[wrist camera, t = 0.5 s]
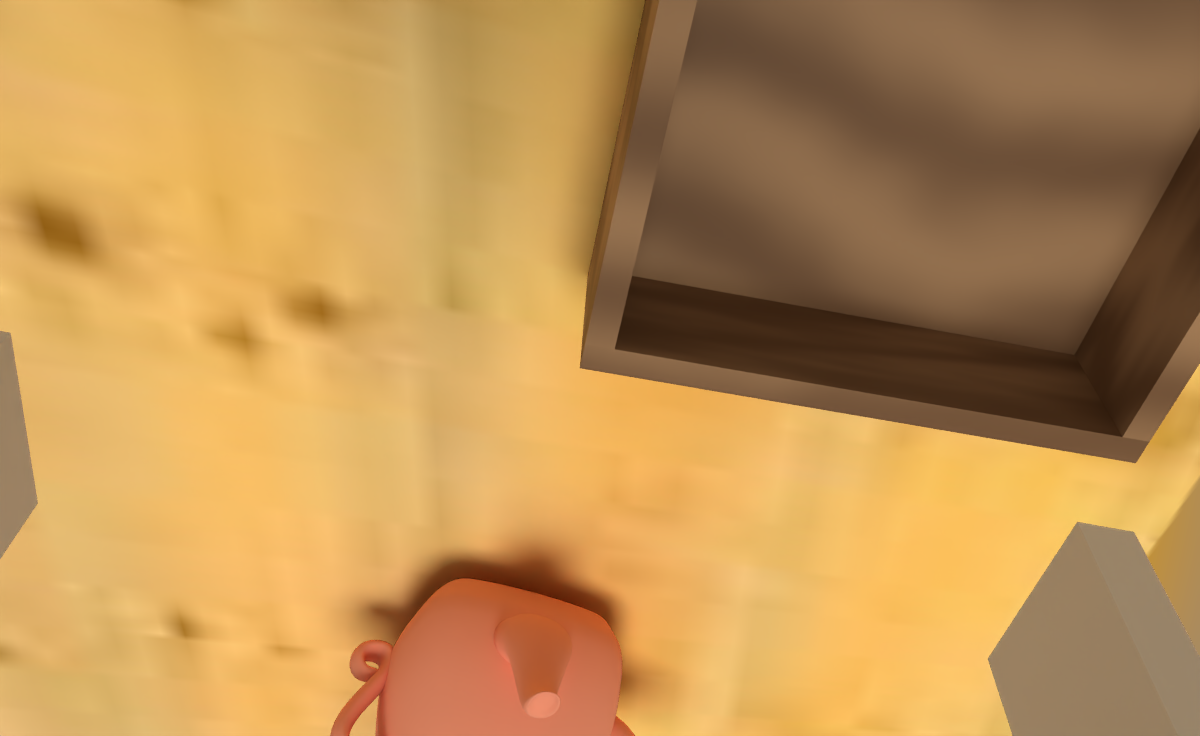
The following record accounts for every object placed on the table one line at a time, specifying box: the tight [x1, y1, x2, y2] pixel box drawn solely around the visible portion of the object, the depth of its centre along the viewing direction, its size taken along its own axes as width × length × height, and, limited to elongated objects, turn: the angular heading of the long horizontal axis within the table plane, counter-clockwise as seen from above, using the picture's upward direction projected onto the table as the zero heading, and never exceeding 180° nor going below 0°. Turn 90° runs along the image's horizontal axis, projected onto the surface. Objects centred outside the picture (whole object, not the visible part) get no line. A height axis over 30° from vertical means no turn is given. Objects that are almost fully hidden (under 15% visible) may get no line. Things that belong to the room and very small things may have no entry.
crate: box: [580, 0, 1200, 463], centre depth 34 cm, size 18×20×6 cm
